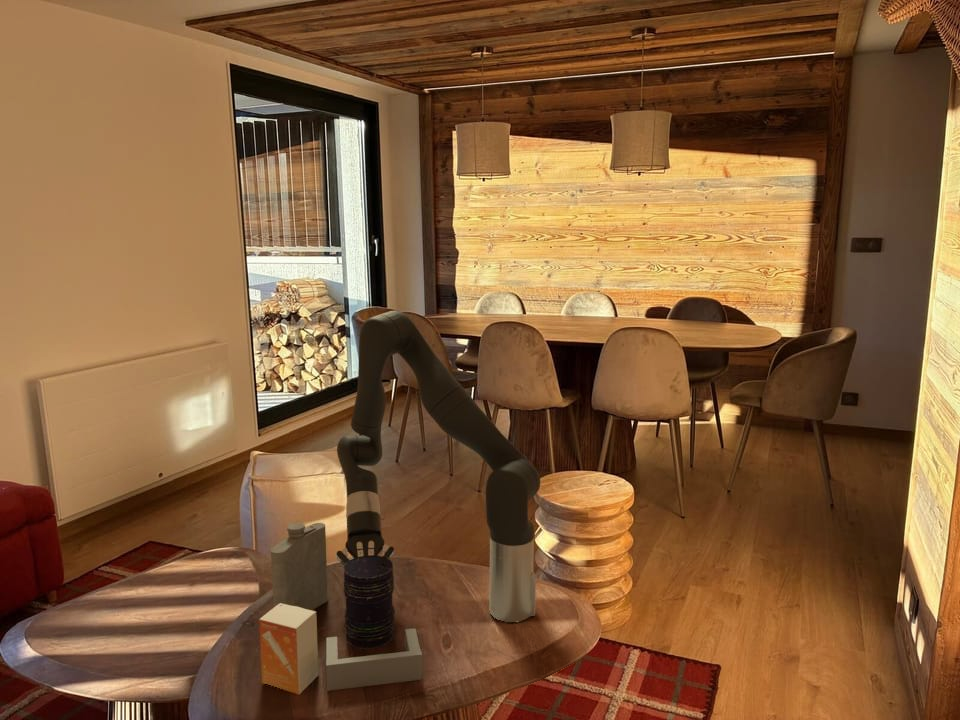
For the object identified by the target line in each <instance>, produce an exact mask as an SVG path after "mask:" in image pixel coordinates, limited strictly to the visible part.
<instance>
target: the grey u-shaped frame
mask: <svg viewBox="0 0 960 720" xmlns="http://www.w3.org/2000/svg"><path fill="white" fill-rule="evenodd" d="M404 634H405V636H404V640H405V642H404V643H405V644H404V645H405V651H400V652H392V653H390V652H389V653H380V654H379V653H378V654H372V655H371V654H370V655H364V656H354V657H346V658H339V654H338V651H339V649H338V636H330V637H326V652H325V653H326V660H325V666H326V668H325V670H326V691H327V692H328V691H338V690H343V689H353V688H354V689H355V688H361V687H362V688H363V687H368V686H369V687H370V686H378V685H379V686H380V685H385V684H393V683H395V684H397V683H403V682H404V683H405V682H411V681H419V680H423V654H422V653H423V652H422V649H420V648H421V647H420V643H419V639H418V634H417V630H416V628H405V629H404Z"/></svg>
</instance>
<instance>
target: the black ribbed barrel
mask: <svg viewBox="0 0 960 720" xmlns="http://www.w3.org/2000/svg"><path fill="white" fill-rule="evenodd" d="M349 560H350V561H348V562H347V563H346V564H345V565H344V566H343V593H344V594H343V595H344V596H345V610H344V627H345V640H346V641H347V643H348V644H349V645H351V647H354V648H359V649H362V650H363V649H364V650H365V649H367V650H368V649H376V648H379V647H382V646H385V645H386V644H388V643H390V642H391V641H392V640H393V638H394V636H395V630H394V627H395V612H396V611H395V607H394V605H393V593H394V589H395V585H394V584H395V581H394V577H395V576H394V570H393V569H394V563H393V561H392V560H391V559H390V560H389V559H388V558H385V557H383V555H378V556H376V555H367V556H360V557H357V558H351V559H349Z"/></svg>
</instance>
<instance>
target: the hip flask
mask: <svg viewBox="0 0 960 720" xmlns="http://www.w3.org/2000/svg"><path fill="white" fill-rule="evenodd" d="M286 531H287V532H288V536H286V537H284V538H283V539H282V540H281V541H279V542H278V543H276V545H274V546H273V547H272V548H270V563H271V564H270V565H271V581H272V583H271V584H272V587H271V588H272V602H273V603H272V604H273V608H274V607H275V606H277V605H278V604H280V603H282V604H286V605H291V606H297V607H301V608H304V609H308V610H312V611H315V610H316V609H317V608H318V607H321V606H322V605H323V604H326V603H327V602H328V601H329V597H328V596H329V591H328V590H329V589H328V569H327V568H328V567H327V566H328V565H327V538H326V537H327V535H326V534H327V533H326V524H325V523H323V522H316V523H315V522H314V523H312V524H309V525H307V526H306V525H305V523H304V522H299V521H298V522H292V523H289V524H288V525H287V526H286Z"/></svg>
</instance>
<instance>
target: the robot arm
mask: <svg viewBox="0 0 960 720" xmlns="http://www.w3.org/2000/svg"><path fill="white" fill-rule="evenodd" d="M358 341H359V342H358V343H359V345H358V368H357V369H358V373H357V374H358V375H357V376H358V377H357V387H356V394H355V395H356V397H355V402H354V406H353V409H352V410H353V411H352V415H351V421H350V426H351V430H352V431H354V432H355V433H357V434H359V435H352V434H347V435H344V436H342V437H341V438H340V439H339V441H338V443H337V447H336V454H337V458H338V461H339V464H340V467H341V470H342V472H343V475H344V479H345V484H346V485H345V486H346V505H345V506H346V508H345V512H346V514H345V517H346V534H347V535H346V536H347V537H346V542H345V546H344V547H343V548H342V549H341V550H337V551H336V559H337V561H339V563H341V565H342V566H343V567H344V565H345V564H346V563H347V562H348V561H350V560H351V559H350V558H349V554H350V556H351V557H352V559H354V558H357V557H360V556H367V555H376V556H380V553H381V552H382V557H385V558H388V559H389V560H391V558H392V557H393V556H394V552H395V548H394V547H393V546H389V545H387V544H386V541H385V539H384V538H383V536H382V535H383V532H382V523H381V522H382V519H381V518H382V517H381V505H380V500H379V493H378V492H379V490H378V478H377V475H376V474H375V473H374V472H373V471H372V470H368V469H365V468H362V467H373V466H376V465H377V464H378V463H380V461H381V460H382V459H383V444H382V424H383V420H384V415H385V412H386V407H387V395H386V391H385V388H384V384H383V381H382V380H383V370H384V368H385V365H386V362H387V360H388V358H389V357H391V356H394V355H397V354H398V355H399V356H400V357H401V358H402V359H403V360H404V361H405V363H407V364H408V366H409V367H410V369H411V370H412V372H413V374H414V376H415V379H416V382H417V386H418V391H419V392H418V393H419V395H420V399H421V403H422V405H423V408H424V409H425V411H426V412H427V414H428V415H429V416H430V417H431V418H432V419H433V421H434V422H435V423H436V424H437V426H438V427H439V428H440V429H441V430H442V431H443V432H444V433H445V435H446V434H447V435H448V436H449V437H451V438H452V439H454V440H455V441H457V442H458V443H461V444H462V445H464V446H465V447H467V448H468V449H470V450H473V452H474V453H476V454H478V455H479V457H481V459H483V460H484V462H485V463H486V464H487V465H488V466H489V468H490V469H491V470H492V472H490V474H489V475H488V477H487V480H486V484H485V485H486V486H485V511H486V512H485V513H486V514H485V516H486V517H485V518H486V523H487V527H488V529H489V587H488V588H489V590H488V591H489V593H488V595H489V597H488V599H489V600H488V606H489V607H488V608H489V610H488V611H490V612H489V615H490V614H491V615H492V616H493V617H494V618H493V617H492V616H491V615H490V616H491V617H492V618H493V619H495V618H496V619H497V621H499V620H501V621H500V622H502V621H505V622H504V623H507V622H516V621H521V620H524V619H526V618H527V617H529V616H531V615H535V616H536V599H537V598H536V595H537V594H536V587H537V575H536V572H535V571H534V556H535V555H534V545H535V544H534V543H535V542H534V541H535V538H534V537H535V526H534V524H533V521H531V520H529V516H528V515H529V512H528V511H529V510H528V507H529V506H528V505H529V504H528V503H529V501H530V500H531V499H532V498H534V497H535V496H536V494H537V493H538V492H539V490H540V488H541V477H540V474H539V471H538V469H537V468H536V466H535V465H534V464H533V463H532V462H531V461H530V460H529V459H528V458H527V457H526V456H525V455H524V454H523V453H522V451H520V450H519V449H518V448H517V447H516V446H514V444H513V443H512V442H511V441H510V440H508V438H506V437H505V436H504V434H502V432H501V431H500V429H498V427H497V426H496V425H495V424H494V422H493V421H492V420H491V419H490V418H489V417H488V416H487V414H486V413H485V412H484V411H483V410H482V409H481V408H480V406H479V405H478V404H477V403H476V401H475V400H474V398H473V397H472V396H471V395H470V394H469V393H468V391H467V390H466V389H465V388H464V387H463V386H462V384H461V383H460V382H459V381H458V380H457V379H456V378H455V377H454V376H453V374H452V373H451V372H450V371H449V369H448V368H447V367H446V366H445V364H444V363H443V362H442V361H441V359H440V358H439V357H438V355H436V354H435V352H434V351H433V349H432V348H431V346H430V345H429V344H428V342H427V341H426V339H425V338H424V336H423V335H422V334H421V332H420V330H419V329H418V328H417V326H416V324H415V323H414V322H413V321H412V319H411V318H410V317H409V316H407V314H405V313H403V312H402V311H399V310H389V311H387V312H384V313H381V314H378V315H377V314H376V315H375V316H371V317H369V318H368V319H366V320H365V321H364V322H363V324H362V326H361V328H360V332H359V340H358ZM360 466H362V467H360ZM496 619H495V620H496Z"/></svg>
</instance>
